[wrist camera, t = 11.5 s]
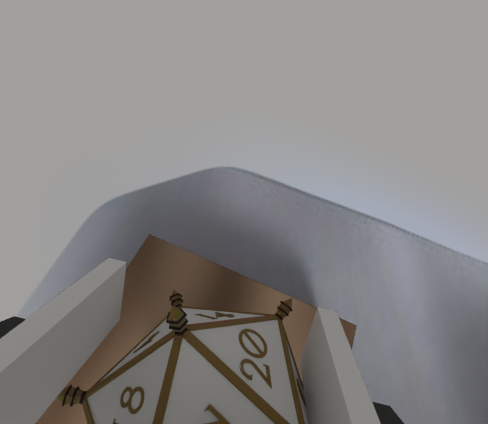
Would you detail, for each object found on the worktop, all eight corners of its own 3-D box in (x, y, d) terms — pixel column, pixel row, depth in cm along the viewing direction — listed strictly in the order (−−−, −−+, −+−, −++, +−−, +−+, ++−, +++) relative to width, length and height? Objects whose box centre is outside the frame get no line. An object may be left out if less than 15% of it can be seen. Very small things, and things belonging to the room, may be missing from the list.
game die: (185, 373, 17) (134, 225, 13) (336, 398, 15) (334, 225, 11) (69, 624, 10) (-146, 462, 5) (342, 764, 7) (342, 664, 3)
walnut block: (323, 337, 23) (356, 325, 17) (257, 596, 16) (280, 702, 11) (162, 265, 24) (149, 234, 19) (39, 471, 17) (-34, 509, 12)
